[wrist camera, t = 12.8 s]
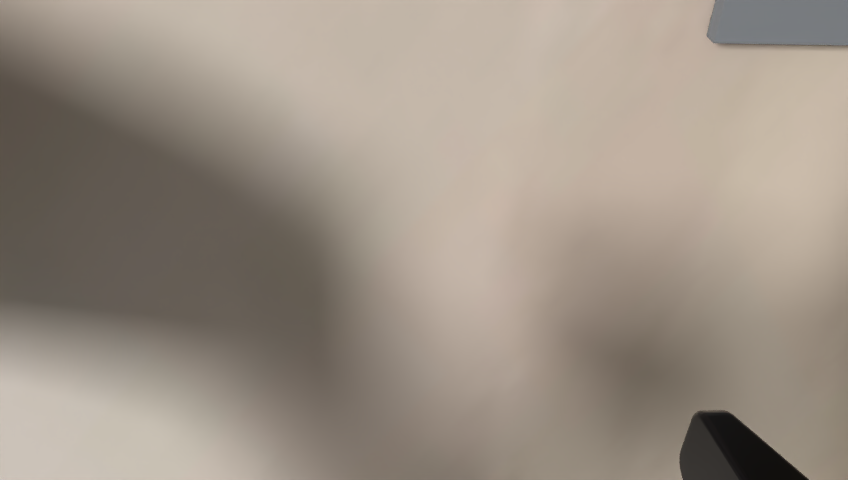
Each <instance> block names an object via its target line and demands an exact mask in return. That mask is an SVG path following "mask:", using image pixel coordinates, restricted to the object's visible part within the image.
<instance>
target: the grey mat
mask: <svg viewBox="0 0 848 480" xmlns="http://www.w3.org/2000/svg"><path fill="white" fill-rule="evenodd" d="M707 37H708V38H709V39H710V40H711V41H712V42H713V43H734V44H793V45H848V0H716V1H715V5H714V9H713V12H712V16H711V20H710V24H709V28H708V32H707Z"/></svg>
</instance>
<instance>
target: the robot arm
mask: <svg viewBox="0 0 848 480" xmlns="http://www.w3.org/2000/svg"><path fill="white" fill-rule="evenodd" d="M680 470H681V474H682V478H683V480H809V479H808V478H807V477H805V476H804V475H803V474H802V473H801V472H799V471H798V470H797V469H796V468H795V467H794V466H792V465H791V464H790V463H789V462H788V461H787V460H785V459H784V458H783V457H782V456H781V455H780V454H778V453H777V452H776V451H775V450H774V449H773V448H771V447H770V446H769V445H768V444H767V443H766V442H764V441H763V440H762V439H761V438H760V437H759V436H757V435H756V434H755V433H754V432H753V431H751V430H750V429H749V428H748V427H747V426H746V425H744V424H743V423H742V422H741V421H740V420H739V419H737V418H736V417H735V416H734V415H733V414H731V413H729V412H727V411H723V410H713V411H698V412H697V413H695V414H694V415H693V417H692V420H691V423H690V425H689V428H688V431H687V434H686V437H685V440H684V442H683V445H682V448H681V452H680Z"/></svg>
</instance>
